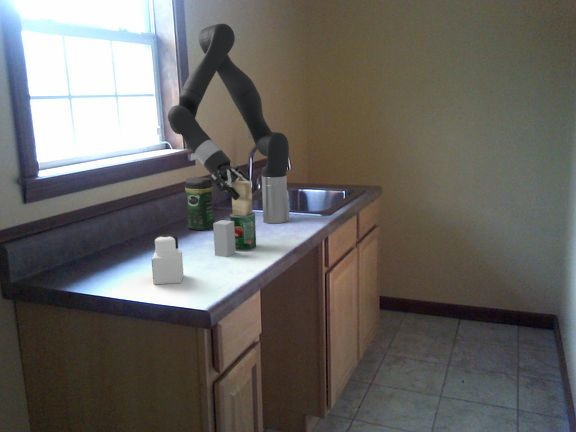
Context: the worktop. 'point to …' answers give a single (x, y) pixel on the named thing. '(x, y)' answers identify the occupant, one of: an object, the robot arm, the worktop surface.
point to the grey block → (224, 238)
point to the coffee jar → (199, 203)
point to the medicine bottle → (167, 260)
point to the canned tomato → (244, 232)
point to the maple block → (242, 198)
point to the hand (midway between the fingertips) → (245, 196)
